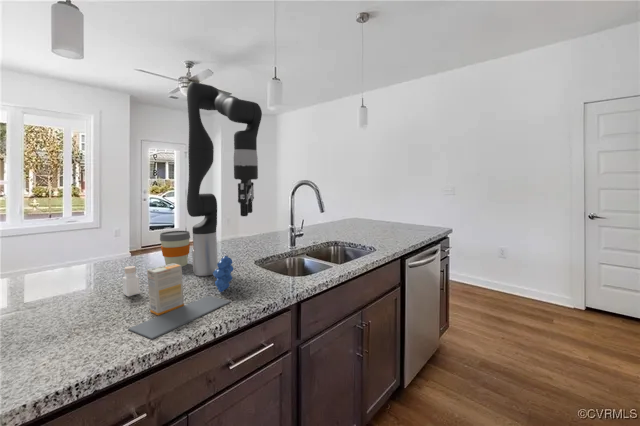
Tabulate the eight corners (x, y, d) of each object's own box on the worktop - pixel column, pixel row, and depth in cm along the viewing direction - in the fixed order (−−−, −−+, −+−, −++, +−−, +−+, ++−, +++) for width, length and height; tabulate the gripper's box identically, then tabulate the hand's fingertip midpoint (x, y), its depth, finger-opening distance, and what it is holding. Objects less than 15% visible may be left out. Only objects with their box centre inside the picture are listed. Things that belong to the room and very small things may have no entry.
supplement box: (175, 303, 97) (173, 262, 95) (184, 306, 94) (182, 265, 93) (149, 312, 90) (146, 269, 88) (157, 316, 87) (154, 271, 86)
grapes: (220, 283, 114) (219, 252, 113) (237, 284, 114) (236, 252, 112) (205, 295, 103) (204, 260, 102) (224, 296, 102) (223, 261, 101)
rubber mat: (128, 330, 79) (128, 328, 79) (208, 296, 102) (208, 295, 102) (152, 339, 74) (151, 338, 74) (230, 302, 97) (230, 301, 97)
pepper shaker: (136, 291, 107) (134, 264, 106) (140, 293, 105) (138, 266, 103) (123, 294, 104) (121, 267, 103) (127, 297, 101) (125, 269, 100)
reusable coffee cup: (184, 268, 134) (182, 235, 132) (155, 268, 134) (153, 235, 133) (196, 261, 147) (194, 230, 145) (170, 261, 147) (168, 230, 145)
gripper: (238, 165, 105) (239, 211, 107) (228, 163, 91) (230, 217, 93) (260, 165, 106) (261, 211, 108) (254, 164, 91) (254, 217, 93)
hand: (246, 214), depth 100 cm, fingers open, 8 cm apart
